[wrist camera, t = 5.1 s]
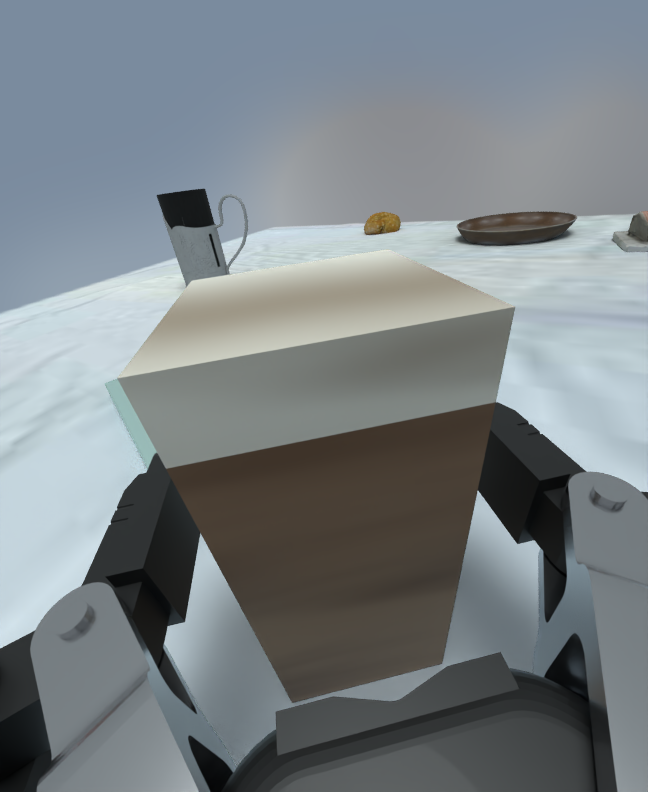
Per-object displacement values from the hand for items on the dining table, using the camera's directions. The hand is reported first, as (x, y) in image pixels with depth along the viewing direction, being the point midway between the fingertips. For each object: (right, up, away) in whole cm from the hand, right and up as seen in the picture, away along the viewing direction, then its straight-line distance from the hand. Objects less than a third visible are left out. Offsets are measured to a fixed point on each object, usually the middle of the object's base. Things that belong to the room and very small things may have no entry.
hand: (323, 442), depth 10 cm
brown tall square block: (+1, -7, +3) cm, 7 cm away
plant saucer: (+38, +33, +56) cm, 76 cm away
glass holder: (-18, +22, +50) cm, 58 cm away
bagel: (+16, +48, +83) cm, 97 cm away
